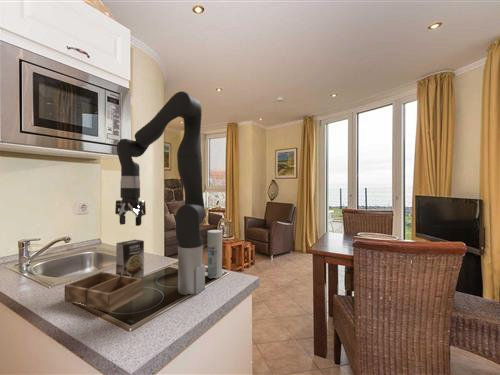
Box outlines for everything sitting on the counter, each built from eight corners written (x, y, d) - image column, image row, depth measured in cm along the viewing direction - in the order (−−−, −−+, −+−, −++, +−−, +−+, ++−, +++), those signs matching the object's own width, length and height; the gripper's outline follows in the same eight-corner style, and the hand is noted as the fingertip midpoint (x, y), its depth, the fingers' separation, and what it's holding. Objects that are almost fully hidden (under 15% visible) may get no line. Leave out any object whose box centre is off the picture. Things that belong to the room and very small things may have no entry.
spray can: (204, 276, 107) (204, 231, 107) (215, 272, 112) (215, 229, 112) (214, 280, 103) (214, 233, 103) (225, 275, 108) (225, 231, 108)
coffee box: (124, 284, 98) (124, 244, 98) (115, 281, 101) (115, 242, 101) (144, 277, 106) (144, 240, 106) (135, 274, 109) (135, 238, 109)
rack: (143, 293, 90) (143, 279, 90) (109, 312, 77) (109, 295, 77) (101, 285, 97) (101, 271, 97) (64, 301, 84) (64, 285, 84)
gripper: (150, 187, 104) (150, 224, 104) (124, 186, 109) (124, 222, 109) (136, 187, 97) (136, 227, 97) (110, 186, 102) (110, 225, 102)
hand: (130, 225), depth 103 cm, fingers open, 8 cm apart
